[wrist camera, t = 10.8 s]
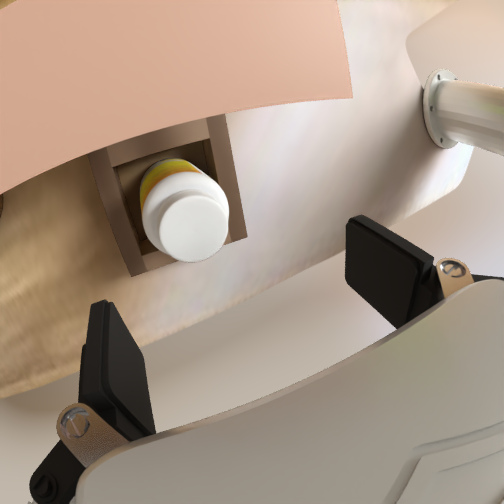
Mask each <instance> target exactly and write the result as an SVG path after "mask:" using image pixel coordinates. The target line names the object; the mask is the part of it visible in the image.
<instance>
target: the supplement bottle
mask: <svg viewBox="0 0 504 504" xmlns="http://www.w3.org/2000/svg"><path fill="white" fill-rule="evenodd" d="M140 202H141V213H142V222H143V226H144V230H145V233H146V235H147V237H148V238H149V240H150V241H151V243H152V244H153V245H154V246H155V247H156V248H158V249H159V250H160V251H162V252H164V253H166V254H168V255H170V256H171V257H173V258H175V259H177V260H179V261H182V262H188V263H193V262H199V261H203V260H205V259H208V258H209V257H211V256H212V255H214V254H215V253H216V252H217V251H218V250H219V249H220V248H221V247H222V245H223V244H224V242H225V239H226V237H227V233H228V219H229V206H228V201H227V198H226V196H225V194H224V192H223V190H222V189H221V187H220V186H219V185H218V184H217V183H216V182H215V181H214V180H213V179H211V178H210V177H209V176H207V175H206V174H205V173H204V172H202V171H201V170H200V169H198V168H197V167H196V166H194V165H193V164H191V163H190V162H188V161H186V160H183V159H180V158H167V159H163V160H160V161H158V162H157V163H155V164H153V165H152V166H151V167H150V168H149V169H148V170H147V171H146V173H145V174H144V176H143V178H142V181H141V184H140Z"/></svg>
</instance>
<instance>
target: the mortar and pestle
mask: <svg viewBox="0 0 504 504" xmlns="http://www.w3.org/2000/svg"><path fill="white" fill-rule="evenodd" d="M2 208H3V196H2V194H0V217H1V213H2Z"/></svg>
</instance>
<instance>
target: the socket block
mask: <svg viewBox="0 0 504 504" xmlns="http://www.w3.org/2000/svg"><path fill="white" fill-rule="evenodd" d="M200 140H202V143H203V148H204V152H205V157H206V162H207V167H208V171H209V176H210V178H211V179H213V180H214V181H215V182H216V183H217V184H218V185H219V186H220V187H221V189H222V190H223V192H224V194H225V196H226V198H227V201H228V206H229V219H228V233H227V237H226V239H225V242H224V244H223V245H226V244H229V243H232V242H235V241H238V240H241V239H243V238H246V237H247V231H246V226H245V220H244V215H243V210H242V204H241V199H240V193H239V188H238V183H237V177H236V172H235V166H234V161H233V155H232V150H231V145H230V139H229V134H228V128H227V123H226V117H225V114H220V115H215V116H211V117H206V118H202V119H197V120H193V121H189V122H185V123H181V124H177V125H173V126H170V127H166V128H162V129H159V130H155V131H152V132H148V133H145V134H142V135H139V136H135V137H132V138H129V139H126V140H123V141H120V142H117V143H114V144H112V145H109V146H106V147H103V148H100V149H98V150H95V151H92V152H90V153H87V154H88V158H89V161H90V165H91V168H92V171H93V175H94V178H95V181H96V184H97V188H98V191H99V194H100V197H101V200H102V203H103V206H104V208H105V211H106V214H107V217H108V220H109V222H110V225H111V228H112V231H113V233H114V236H115V238H116V241H117V244H118V246H119V249H120V251H121V254H122V256H123V259H124V261H125V263H126V266H127V268H128V270H129V273H130V275H131V277H133V276H136V275H139V274H142V273H145V272H147V271H150V270H153V269H156V268H159V267H162V266H165V265H167V264H170V263H173V262H176V261H179V260H177V259H175V258H173V257H171V256H170V255H168V254H166V253H164V252H162V251H160V250H159V249H158V248H156V247H155V246H154V245H153V244H152V243H151V241H150V240H149V239H146V240H144V241H141V242H140V240H139V237H138V234H137V232H136V229H135V226H134V223H133V220H132V217H131V214H130V211H129V208H128V205H127V202H126V199H125V196H124V192H123V189H122V186H121V183H120V179H119V176H118V172H117V169H116V166H117V165H120V164H123V163H126V162H129V161H132V160H135V159H138V158H141V157H144V156H147V155H150V154H153V153H157V152H160V151H163V150H167V149H170V148H174V147H177V146H181V145H185V144H188V143H192V142H196V141H200ZM223 245H222V246H223Z"/></svg>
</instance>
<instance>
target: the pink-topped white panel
mask: <svg viewBox="0 0 504 504" xmlns="http://www.w3.org/2000/svg"><path fill="white" fill-rule="evenodd" d="M345 98H353V95H352V86H351V78H350V71H349V64H348V57H347V51H346V44H345V39H344V33H343V28H342V23H341V18H340V13H339V8H338V4H337V0H17V1H15V2H13V3H11V4H9V5H8V6H6V7H4V8H2V9H1V10H0V194H2V193H4V192H5V191H7V190H9V189H11V188H13V187H15V186H17V185H19V184H20V183H22V182H24V181H26V180H28V179H30V178H32V177H35V176H37V175H39V174H41V173H43V172H45V171H47V170H49V169H52V168H54V167H56V166H58V165H61V164H63V163H65V162H68V161H70V160H72V159H75V158H77V157H80V156H82V155H85V154H87V153H90V152H92V151H95V150H98V149H100V148H103V147H106V146H109V145H112V144H114V143H117V142H120V141H123V140H126V139H129V138H132V137H135V136H139V135H142V134H145V133H148V132H152V131H155V130H159V129H162V128H166V127H170V126H173V125H177V124H181V123H185V122H189V121H193V120H197V119H202V118H206V117H211V116H215V115H220V114H225V113H230V112H235V111H241V110H247V109H253V108H259V107H265V106H272V105H279V104H287V103H296V102H305V101H316V100H329V99H345Z"/></svg>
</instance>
